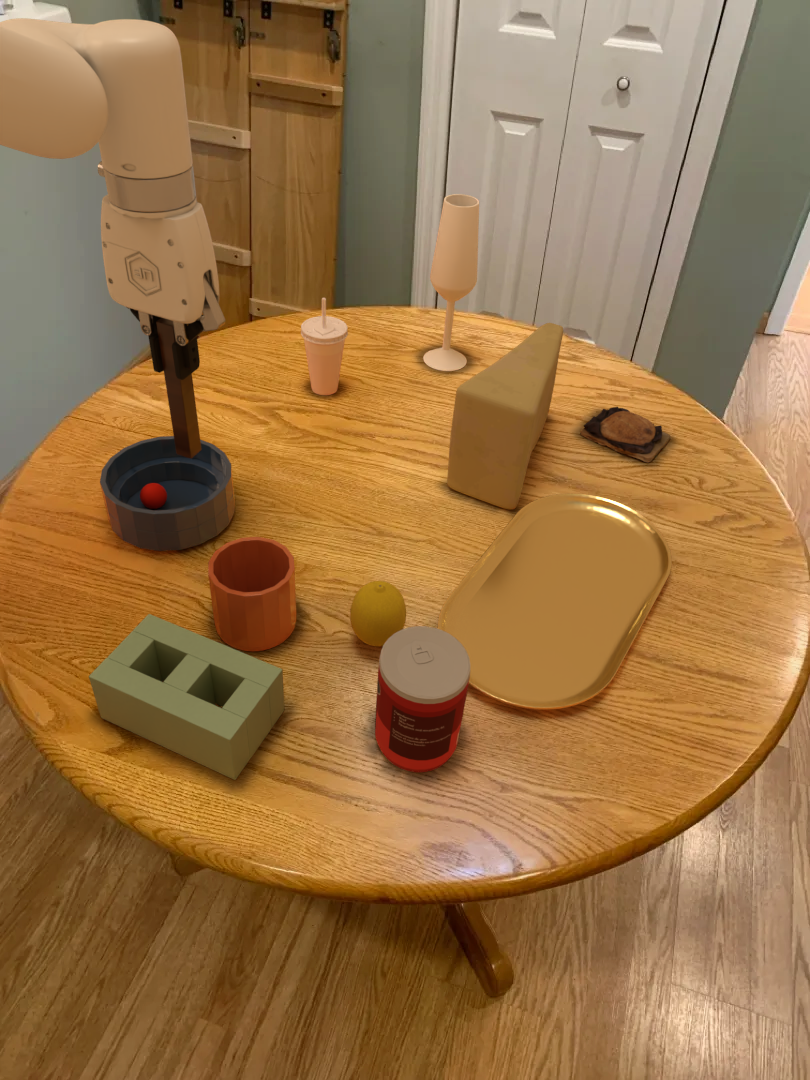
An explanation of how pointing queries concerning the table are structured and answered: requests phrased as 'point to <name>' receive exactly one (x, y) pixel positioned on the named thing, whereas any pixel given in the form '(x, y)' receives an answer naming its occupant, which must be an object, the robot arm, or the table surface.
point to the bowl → (168, 494)
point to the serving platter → (557, 600)
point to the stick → (179, 396)
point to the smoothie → (324, 350)
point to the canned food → (420, 697)
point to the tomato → (153, 495)
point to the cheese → (503, 419)
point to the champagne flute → (454, 269)
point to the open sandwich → (626, 433)
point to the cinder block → (189, 694)
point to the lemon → (377, 612)
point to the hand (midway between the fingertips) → (177, 368)
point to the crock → (253, 593)
